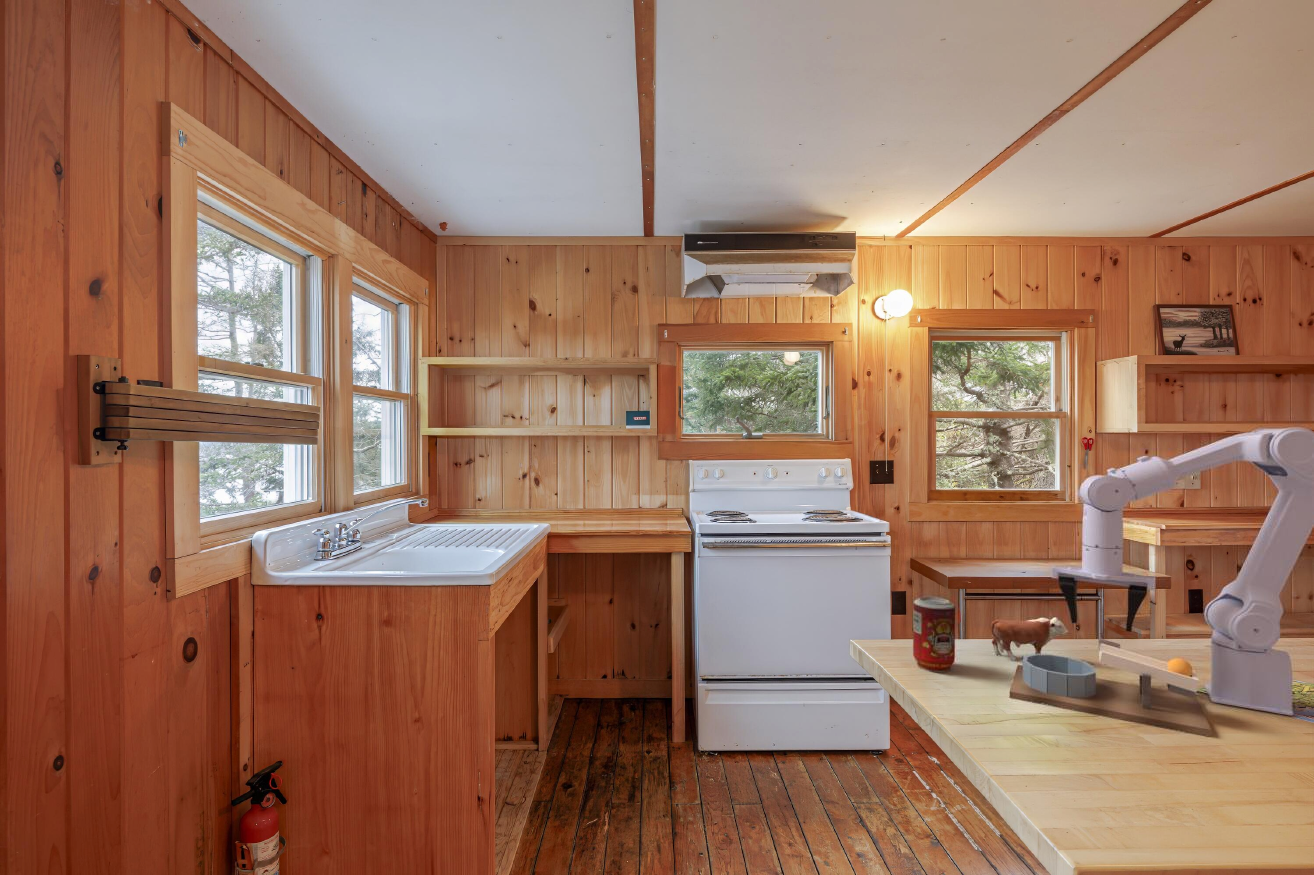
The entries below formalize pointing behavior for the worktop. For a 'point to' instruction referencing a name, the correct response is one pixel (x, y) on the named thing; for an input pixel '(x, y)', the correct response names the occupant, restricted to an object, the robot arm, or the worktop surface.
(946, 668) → the soda can
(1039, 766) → the worktop surface
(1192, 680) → the tilted wooden ramp
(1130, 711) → the base board
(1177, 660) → the ball
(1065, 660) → the bowl
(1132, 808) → the worktop surface
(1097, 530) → the robot arm
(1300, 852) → the worktop surface
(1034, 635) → the bull figurine
